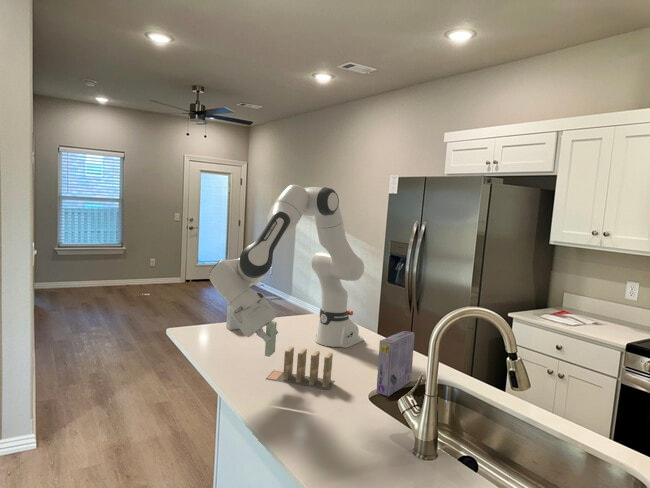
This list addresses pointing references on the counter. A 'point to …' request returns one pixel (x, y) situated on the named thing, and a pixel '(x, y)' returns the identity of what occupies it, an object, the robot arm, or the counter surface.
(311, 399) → the counter surface
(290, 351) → the maple domino
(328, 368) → the maple domino
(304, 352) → the maple domino
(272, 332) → the sage domino
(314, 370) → the maple domino
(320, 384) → the charcoal mat
